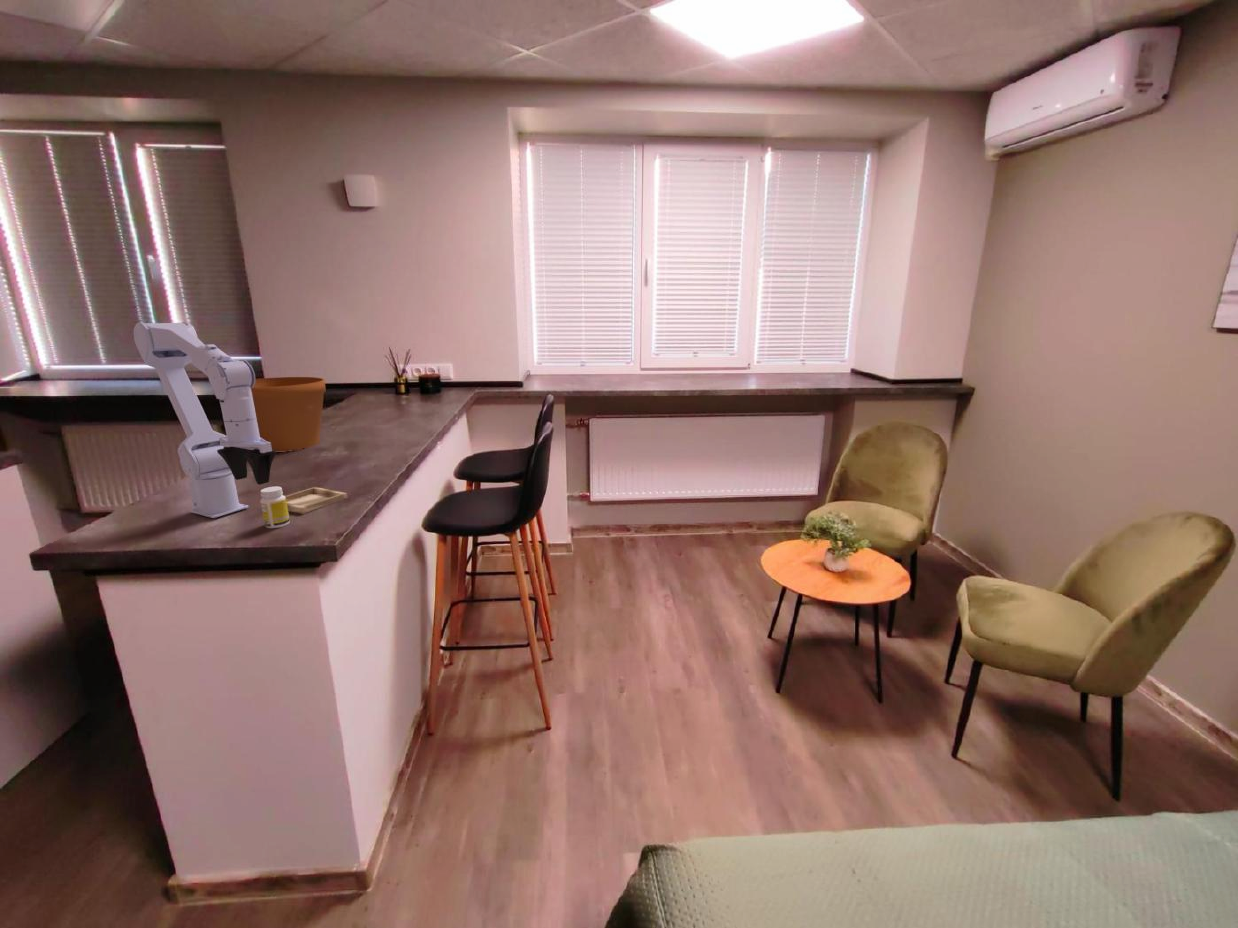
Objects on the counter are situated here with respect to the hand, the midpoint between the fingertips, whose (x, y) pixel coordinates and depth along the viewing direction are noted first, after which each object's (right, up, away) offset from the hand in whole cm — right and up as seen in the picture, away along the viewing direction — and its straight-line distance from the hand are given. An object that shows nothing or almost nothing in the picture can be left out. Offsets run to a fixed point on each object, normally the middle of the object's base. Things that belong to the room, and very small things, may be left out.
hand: (252, 480), depth 117 cm
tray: (+3, -6, +16) cm, 18 cm away
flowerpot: (-33, +8, +67) cm, 75 cm away
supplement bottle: (+4, -10, +3) cm, 11 cm away
